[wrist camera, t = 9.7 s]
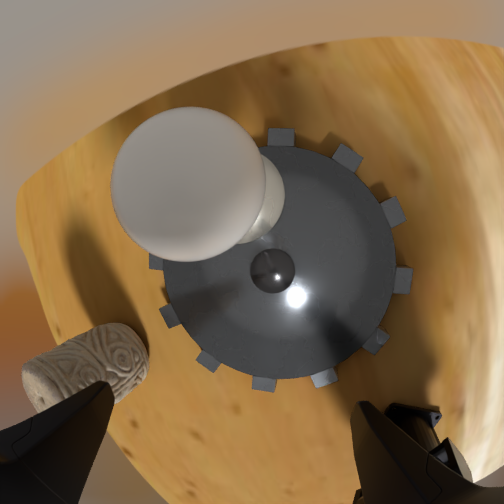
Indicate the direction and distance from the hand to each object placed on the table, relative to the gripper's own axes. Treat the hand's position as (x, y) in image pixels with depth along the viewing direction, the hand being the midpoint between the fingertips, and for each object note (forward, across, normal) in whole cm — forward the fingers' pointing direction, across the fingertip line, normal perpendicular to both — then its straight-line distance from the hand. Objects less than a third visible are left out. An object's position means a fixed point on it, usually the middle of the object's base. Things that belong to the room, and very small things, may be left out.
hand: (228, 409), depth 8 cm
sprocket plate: (+13, -2, -1) cm, 13 cm away
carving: (+14, +12, +9) cm, 20 cm away
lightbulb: (+12, +1, -6) cm, 14 cm away
